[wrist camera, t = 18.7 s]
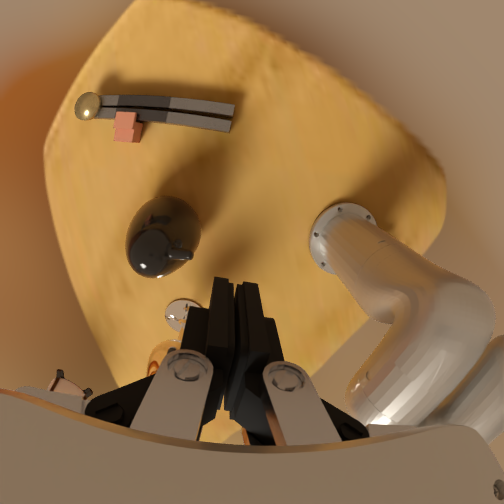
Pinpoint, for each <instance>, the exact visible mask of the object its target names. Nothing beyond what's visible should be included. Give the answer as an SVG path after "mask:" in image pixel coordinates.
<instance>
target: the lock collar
mask: <svg viewBox="0 0 504 504" xmlns="http://www.w3.org/2000/svg"><path fill="white" fill-rule="evenodd" d="M136 117H137V113H134V112H116V117H115V122H114V127H113V128H116V130H115V136H114V141H121V142H136V143H139V142H140V137H141V132H142V126H143V124H142V123H138V122H136Z"/></svg>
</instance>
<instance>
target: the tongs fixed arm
mask: <svg viewBox="0 0 504 504" xmlns="http://www.w3.org/2000/svg"><path fill="white" fill-rule="evenodd" d="M116 112H134V113H137V117H136V121H143V122H154V123H164V124H172V125H180V126H188V127H195V128H201V129H208V130H214V131H220V132H225V133H229V132H230V127H231V121H229V120H223V119H217V118H211V117H205V116H198V115H191V114H183V113H175V112H167V111H157V110H145V109H130V108H101V98H100V97H99V95H97V94H96V93H93V92H87V93H84V94H82V95H81V96H80V97H79V98H78V100H77V102H76V104H75V115H76V116H77V118H79V119H80V120H91V119H93V118H94V119H114V120H115V117H116Z"/></svg>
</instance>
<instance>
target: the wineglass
mask: <svg viewBox="0 0 504 504" xmlns="http://www.w3.org/2000/svg"><path fill="white" fill-rule="evenodd" d="M189 306H195V307H200V306H199V305H197V304H196V303H194V302H192V301H189V300H177V301H174V302H172V303H171V304H169V305H168V307H167V308H166V311H165V318H166V321H167V323H168V324H169V326H170V327H172V328H173V329H174V330H176V331H178V332H179V337H178V340H175V339H174V340H166V341H164V342H161V343H159V344H158V345H157V346H156V347H155V348H154V349H153V350H152V352H151V354H150V356H149V359H148V364H147V372H146V377H148V376H150V375H153V374H155V373H156V372H157V370H158V368H159V366H160V364H161V362H162V360H163V359H164V357H165V356H166V355H167V354H168V353H170V352H172V351H175V350H179V349H180V347H181V342H182V337H183V333H184V328H185V324H186V319H187V315H188V310H189ZM200 308H201V307H200Z"/></svg>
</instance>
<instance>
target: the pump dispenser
mask: <svg viewBox="0 0 504 504" xmlns="http://www.w3.org/2000/svg"><path fill="white" fill-rule="evenodd" d="M200 238H201V225H200V221H199V218H198V216H197V214H196V212H195V211H194V210H193V208H192V207H191V206H190V205H189V204H187V203H186V202H185V201H183V200H181V199H179V198H176V197H172V196H160V197H156V198H154V199H151V200H150V201H148V202H146V203H145V204H144V205H143V206H142V207H141V208H140V209H139V210H138V211H137V213H136V214H135V216H134V217H133V219H132V221H131V223H130V225H129V228H128V231H127V235H126V242H125V250H126V256H127V260H128V262H129V264H130V266H131V267H132V269H133V270H134V271H135V272H136V273H138V274H139V275H141V276H143V277H147V278H160V277H164V276H167V275H169V274H171V273H173V272H175V271H176V270H178V269H179V268H181V267H182V266H183V265H184V264H185V263H186V262H187V261H188V260H192V259H193V256H194V253H195V251H196V249H197V247H198V245H199V242H200Z"/></svg>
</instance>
